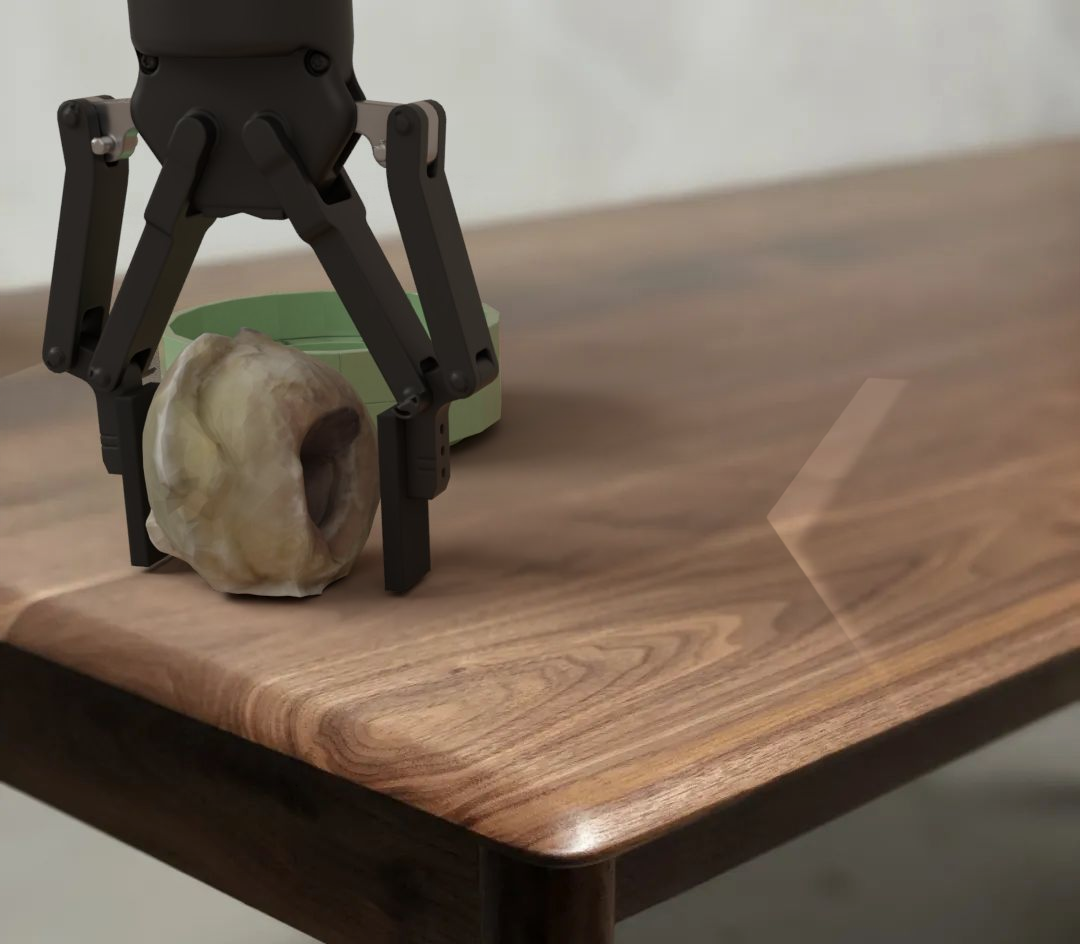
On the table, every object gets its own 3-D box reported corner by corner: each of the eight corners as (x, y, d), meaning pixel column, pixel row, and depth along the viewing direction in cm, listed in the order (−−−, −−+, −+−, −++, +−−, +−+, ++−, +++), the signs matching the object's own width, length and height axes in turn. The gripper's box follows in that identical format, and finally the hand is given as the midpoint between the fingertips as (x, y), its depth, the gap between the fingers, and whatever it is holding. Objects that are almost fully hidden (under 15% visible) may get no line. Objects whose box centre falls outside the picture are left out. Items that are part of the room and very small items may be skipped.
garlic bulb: (188, 667, 68) (68, 431, 62) (204, 560, 75) (97, 340, 69) (429, 587, 67) (328, 341, 61) (422, 486, 74) (331, 258, 69)
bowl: (105, 460, 86) (93, 342, 84) (259, 385, 100) (252, 282, 98) (430, 486, 81) (426, 362, 79) (544, 404, 95) (543, 296, 93)
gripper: (590, -77, 61) (591, 563, 70) (7, -68, 68) (74, 517, 76) (518, -78, 55) (528, 629, 63) (-120, -68, 61) (-31, 572, 70)
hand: (280, 568), depth 70 cm, fingers open, 10 cm apart
